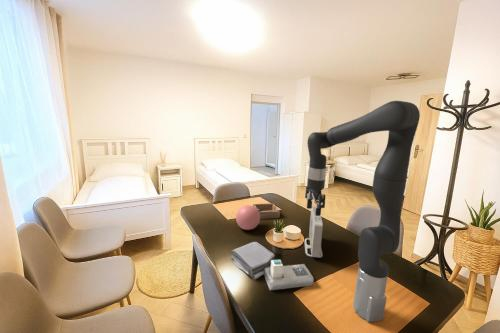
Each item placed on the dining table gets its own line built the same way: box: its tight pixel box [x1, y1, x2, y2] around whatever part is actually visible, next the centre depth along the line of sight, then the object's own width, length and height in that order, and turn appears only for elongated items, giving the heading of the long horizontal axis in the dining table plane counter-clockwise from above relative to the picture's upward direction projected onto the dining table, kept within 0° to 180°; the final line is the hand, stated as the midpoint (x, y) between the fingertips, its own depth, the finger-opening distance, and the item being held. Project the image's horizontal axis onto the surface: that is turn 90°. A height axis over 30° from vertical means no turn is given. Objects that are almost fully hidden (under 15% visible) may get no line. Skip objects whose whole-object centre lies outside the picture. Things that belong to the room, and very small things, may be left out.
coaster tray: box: [252, 202, 281, 220], centre depth 169 cm, size 16×16×5 cm
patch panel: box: [263, 263, 314, 291], centre depth 98 cm, size 10×19×4 cm, turn 101°
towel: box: [230, 241, 276, 280], centre depth 108 cm, size 15×18×8 cm
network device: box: [304, 205, 324, 258], centre depth 123 cm, size 26×9×20 cm, turn 168°
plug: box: [270, 259, 284, 279], centre depth 96 cm, size 4×4×10 cm
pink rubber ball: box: [235, 204, 261, 231], centre depth 145 cm, size 15×20×15 cm
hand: (313, 211), depth 103 cm, fingers open, 8 cm apart
